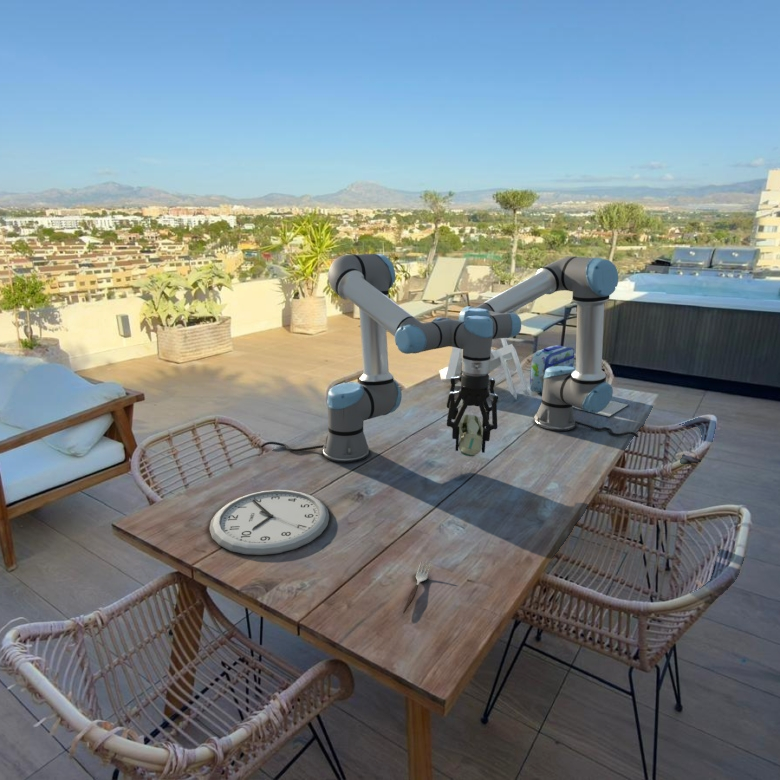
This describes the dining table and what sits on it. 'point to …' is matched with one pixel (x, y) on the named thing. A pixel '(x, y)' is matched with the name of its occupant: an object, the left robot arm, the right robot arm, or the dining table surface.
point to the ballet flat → (470, 435)
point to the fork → (420, 577)
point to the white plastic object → (495, 361)
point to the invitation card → (610, 408)
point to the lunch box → (548, 363)
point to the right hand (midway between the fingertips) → (469, 429)
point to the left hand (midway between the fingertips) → (469, 449)
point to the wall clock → (269, 522)
